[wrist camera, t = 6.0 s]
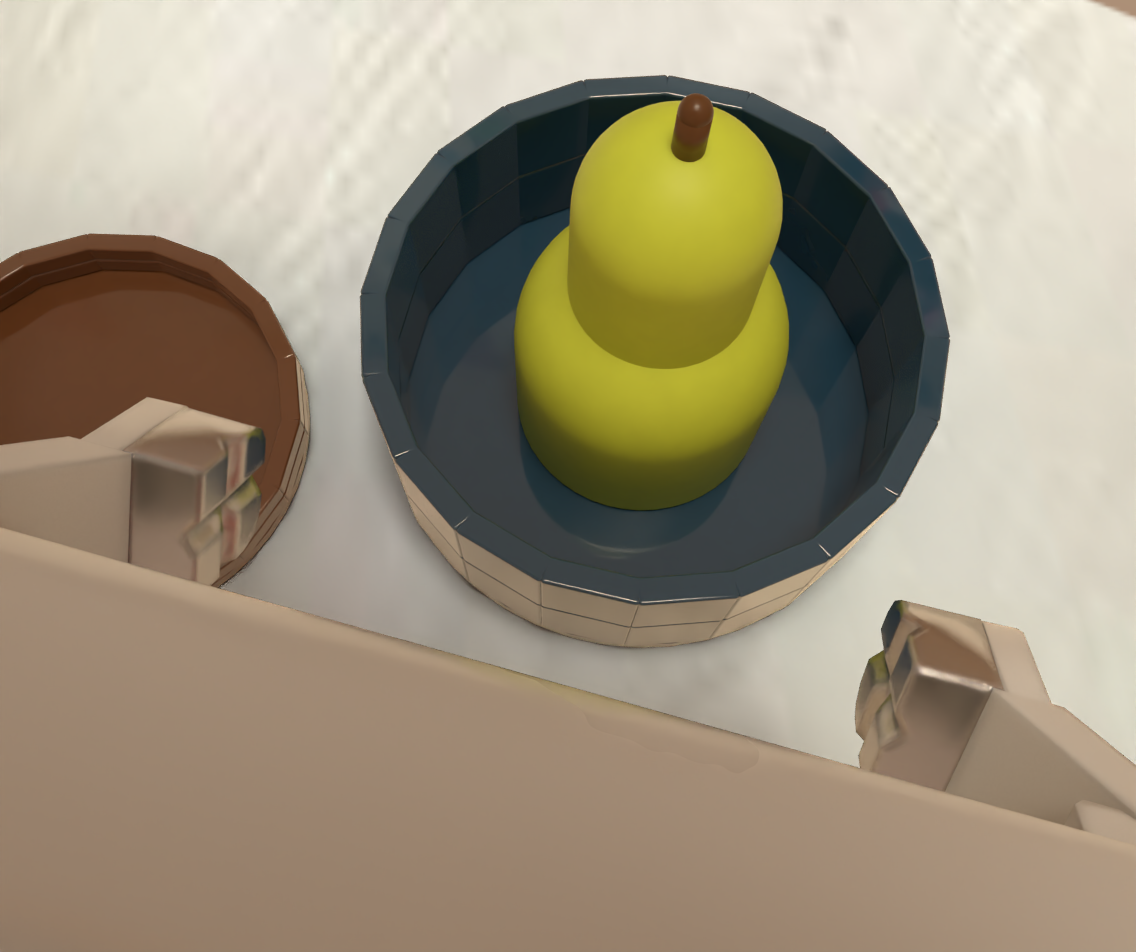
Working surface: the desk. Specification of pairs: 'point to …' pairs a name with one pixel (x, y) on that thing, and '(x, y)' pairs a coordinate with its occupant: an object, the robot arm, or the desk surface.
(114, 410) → the plate
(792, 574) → the pot
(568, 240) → the pear
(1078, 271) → the desk surface
